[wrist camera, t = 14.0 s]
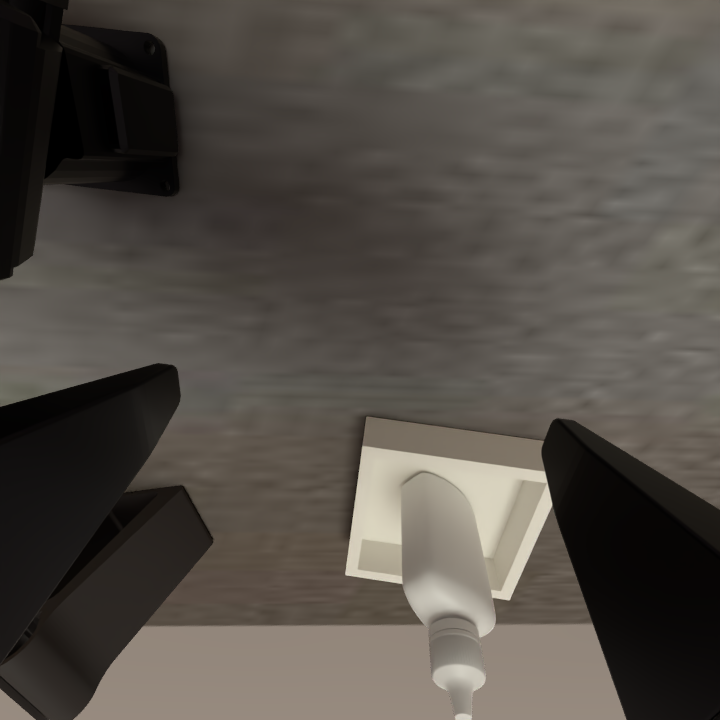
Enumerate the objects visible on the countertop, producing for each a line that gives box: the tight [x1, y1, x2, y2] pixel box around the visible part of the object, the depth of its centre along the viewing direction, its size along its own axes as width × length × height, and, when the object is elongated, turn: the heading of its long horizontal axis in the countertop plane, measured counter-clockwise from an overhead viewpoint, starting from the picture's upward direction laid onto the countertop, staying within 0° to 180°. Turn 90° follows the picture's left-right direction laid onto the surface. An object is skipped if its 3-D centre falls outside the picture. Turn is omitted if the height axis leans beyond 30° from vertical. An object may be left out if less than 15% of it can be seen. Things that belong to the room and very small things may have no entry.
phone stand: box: [0, 486, 213, 720], centre depth 26 cm, size 9×6×12 cm, turn 103°
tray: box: [345, 416, 552, 600], centre depth 26 cm, size 12×12×3 cm
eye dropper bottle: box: [401, 473, 496, 720], centre depth 21 cm, size 4×6×12 cm
